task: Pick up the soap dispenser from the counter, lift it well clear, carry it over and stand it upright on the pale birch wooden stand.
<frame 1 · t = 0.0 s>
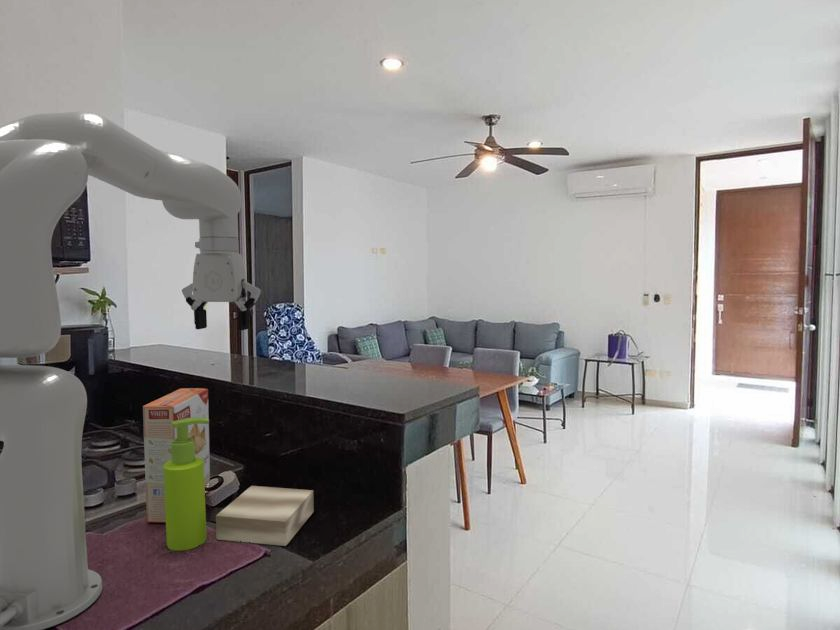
hand: (222, 329, 111), 31 cm above the countertop, tool pointing down, fingers open, 9 cm apart
soap dispenser: (190, 541, 86), on the countertop
cracker box: (181, 507, 98), on the countertop
birch stand: (267, 524, 91), on the countertop
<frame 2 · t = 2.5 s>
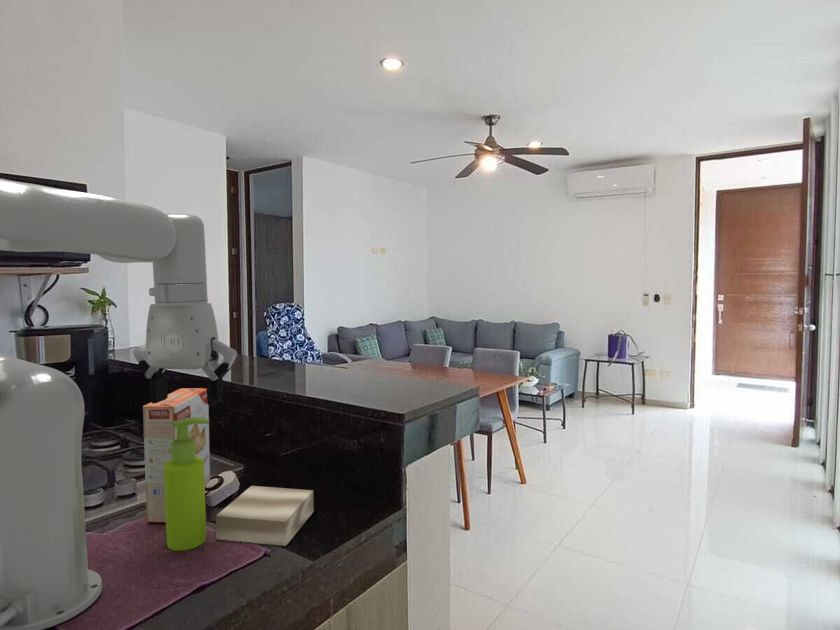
hand: (187, 402, 84), 23 cm above the countertop, tool pointing down, fingers open, 9 cm apart
nothing on the countertop moved.
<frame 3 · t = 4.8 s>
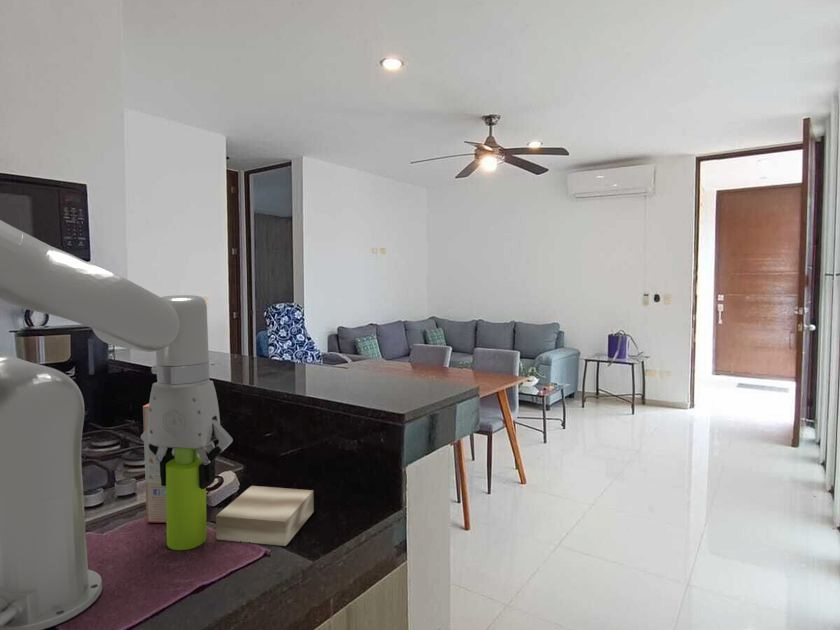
hand: (188, 483, 85), 10 cm above the countertop, tool pointing down, fingers closed on soap dispenser, 6 cm apart
soap dispenser: (190, 541, 86), on the countertop, touching gripper
everything else where it was.
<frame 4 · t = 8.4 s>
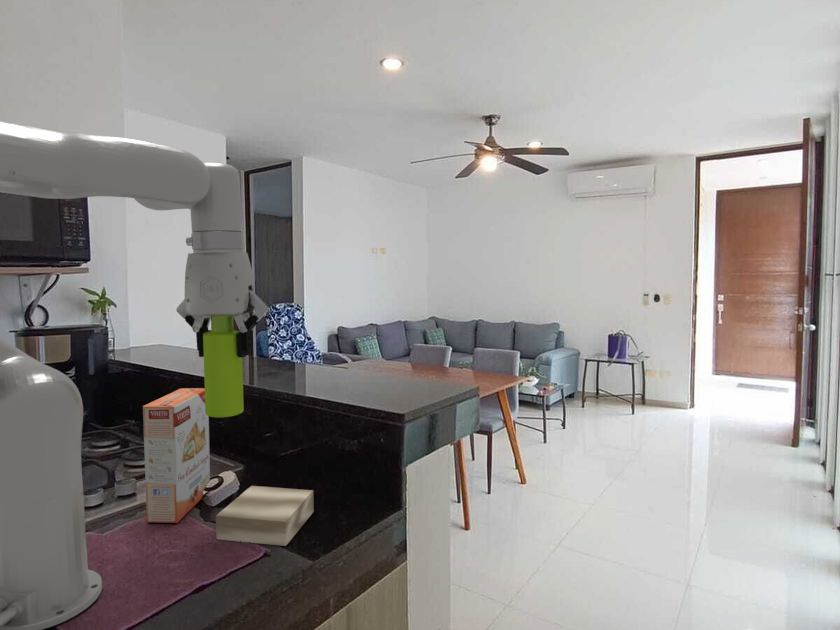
hand: (224, 354, 86), 30 cm above the countertop, tool pointing down, fingers closed on soap dispenser, 6 cm apart
soap dispenser: (228, 412, 87), point 20 cm above the countertop, touching gripper
everything else where it was.
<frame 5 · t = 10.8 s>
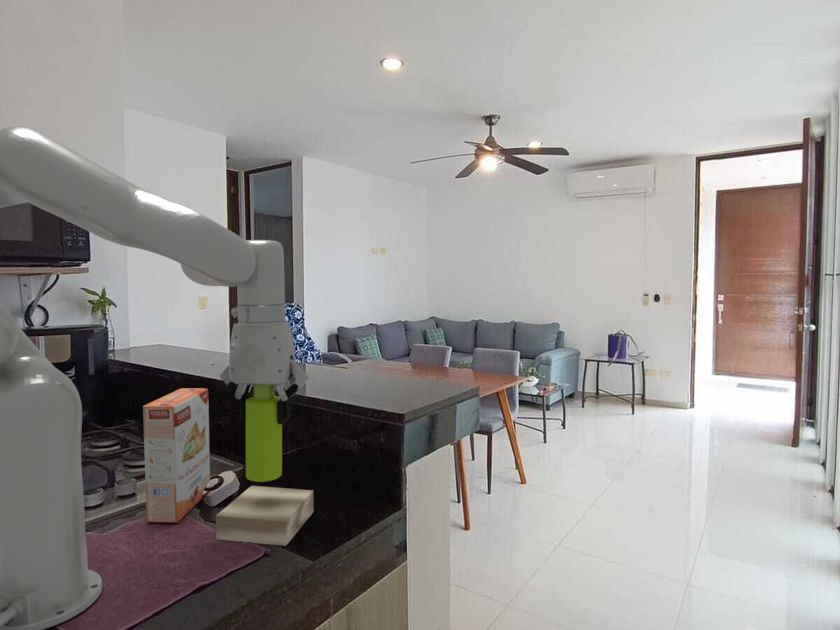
hand: (265, 420, 89), 18 cm above the countertop, tool pointing down, fingers closed on soap dispenser, 6 cm apart
soap dispenser: (267, 475, 90), point 9 cm above the countertop, touching gripper
everything else where it was.
when the fingers open (15 cm above the countertop, at t = 12.4 s): soap dispenser drops 1 cm, resting on birch stand.
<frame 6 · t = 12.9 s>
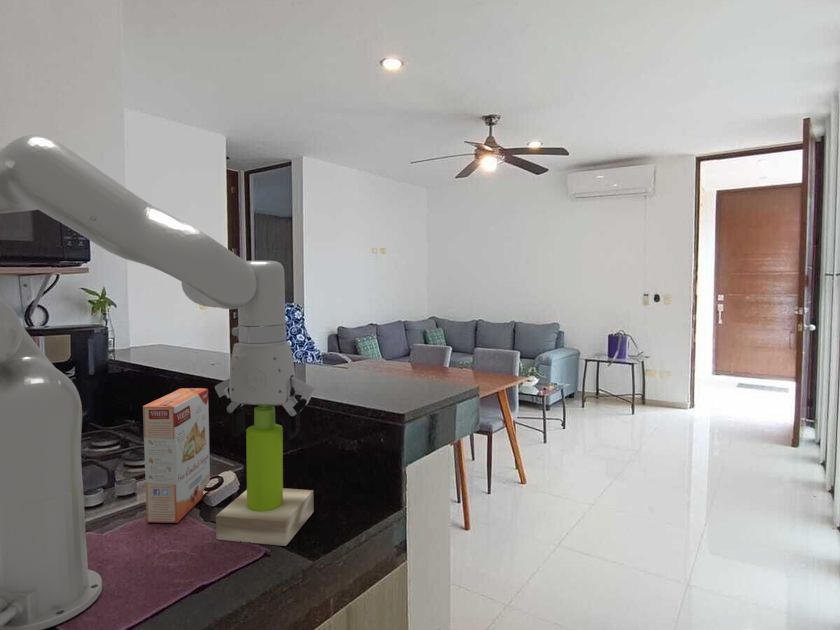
hand: (265, 435, 90), 16 cm above the countertop, tool pointing down, fingers open, 9 cm apart
soap dispenser: (268, 503, 90), point 4 cm above the countertop, touching birch stand
everything else where it was.
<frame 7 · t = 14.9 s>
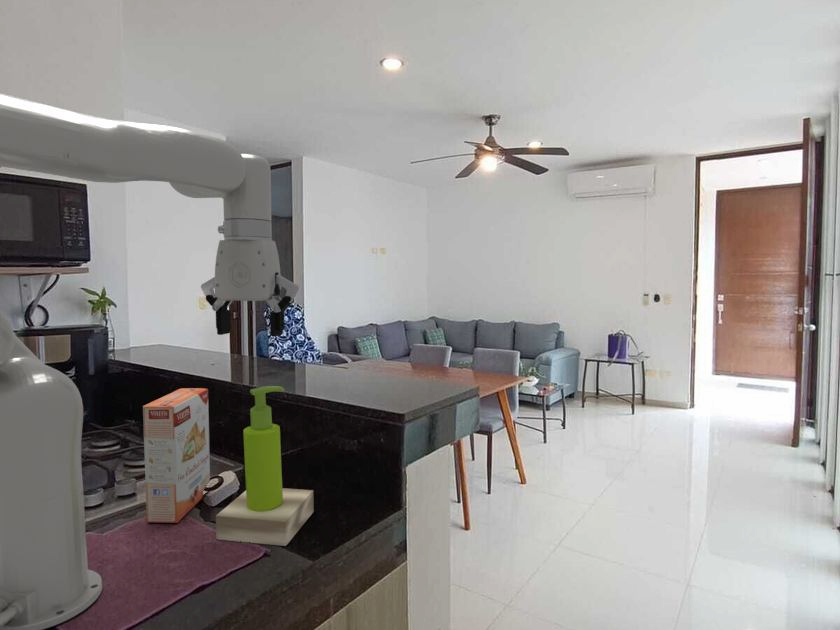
hand: (250, 334, 89), 33 cm above the countertop, tool pointing down, fingers open, 9 cm apart
nothing on the countertop moved.
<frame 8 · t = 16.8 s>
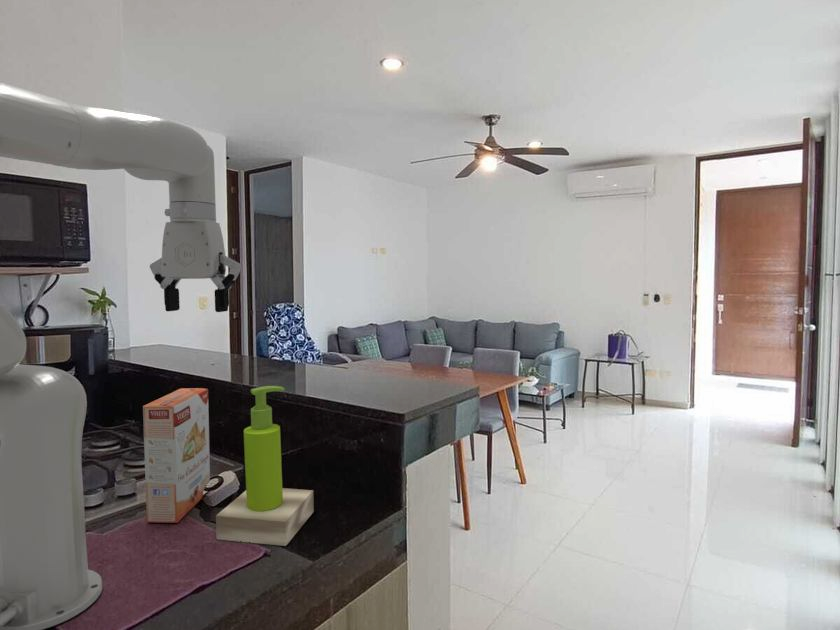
hand: (197, 311, 95), 36 cm above the countertop, tool pointing down, fingers open, 9 cm apart
nothing on the countertop moved.
at the end: soap dispenser inside the target area on the birch stand (0.4 cm from its centre), point 3.8 cm above the birch stand's base; soap dispenser tilted 0°; the gripper is holding nothing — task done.
